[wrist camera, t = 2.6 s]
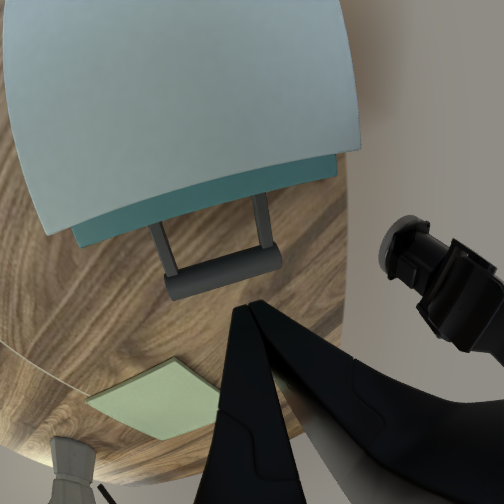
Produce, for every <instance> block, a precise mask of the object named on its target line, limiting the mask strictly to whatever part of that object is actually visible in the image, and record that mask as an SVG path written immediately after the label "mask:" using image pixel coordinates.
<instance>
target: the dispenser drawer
mask: <svg viewBox="0 0 504 504" xmlns="http://www.w3.org/2000/svg"><path fill="white" fill-rule="evenodd" d="M334 176H337V161H336V154H331V155H325V156H319V157H313V158H308V159H302V160H297V161H292V162H287V163H282V164H277V165H272V166H268V167H263V168H258V169H254V170H250V171H245V172H241V173H237V174H233V175H229V176H225V177H221V178H217V179H213V180H210V181H206V182H202V183H199V184H195V185H191V186H188V187H184V188H181V189H178V190H174V191H171V192H168V193H164V194H161V195H158V196H155V197H152V198H148V199H145V200H142V201H139V202H136V203H133V204H130V205H127V206H124V207H122V208H119V209H116V210H113V211H110V212H108V213H105V214H102V215H99V216H97V217H94V218H92V219H89V220H86V221H84V222H81V223H79V224H76V225H74V226H71V229H72V232H73V234H74V236H75V239H76V241H77V243H78V245H79V247H80V248H83V247H86V246H89V245H92V244H94V243H97V242H100V241H103V240H106V239H109V238H112V237H114V236H117V235H120V234H123V233H126V232H129V231H132V230H135V229H138V228H141V227H144V226H148V227H149V230H150V233H151V236H152V239H153V241H154V244H155V247H156V249H157V252H158V255H159V257H160V260H161V262H162V265H163V267H164V270H165V272H166V273H165V274H164V280H165V285H166V289H167V292H168V294H169V296H170V298H171V300H172V301H176V300H179V299H183V298H186V297H189V296H193V295H196V294H199V293H203V292H206V291H209V290H213V289H216V288H219V287H222V286H226V285H229V284H232V283H236V282H239V281H242V280H245V279H248V278H252V277H255V276H258V275H261V274H264V273H267V272H271V271H274V270H277V269H280V268H282V257H281V254H280V251H279V248H278V246H277V245H276V243H275V242H274V241H273V237H272V231H271V224H270V217H269V210H268V204H267V197H266V192H268V191H272V190H276V189H280V188H284V187H289V186H293V185H297V184H302V183H306V182H311V181H315V180H320V179H325V178H329V177H334ZM248 196H251V198H252V203H253V209H254V215H255V221H256V226H257V232H258V238H259V243H260V245H258V246H255V247H252V248H248V249H245V250H242V251H238V252H235V253H232V254H228V255H225V256H221V257H218V258H215V259H211V260H208V261H205V262H201V263H198V264H195V265H191V266H188V267H185V268H181V269H178V267H177V265H176V262H175V259H174V256H173V254H172V251H171V248H170V245H169V242H168V239H167V236H166V233H165V230H164V227H163V224H162V221H163V220H167V219H170V218H173V217H176V216H180V215H183V214H186V213H190V212H193V211H197V210H200V209H204V208H207V207H211V206H214V205H218V204H222V203H225V202H229V201H233V200H237V199H240V198H244V197H248Z"/></svg>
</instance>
